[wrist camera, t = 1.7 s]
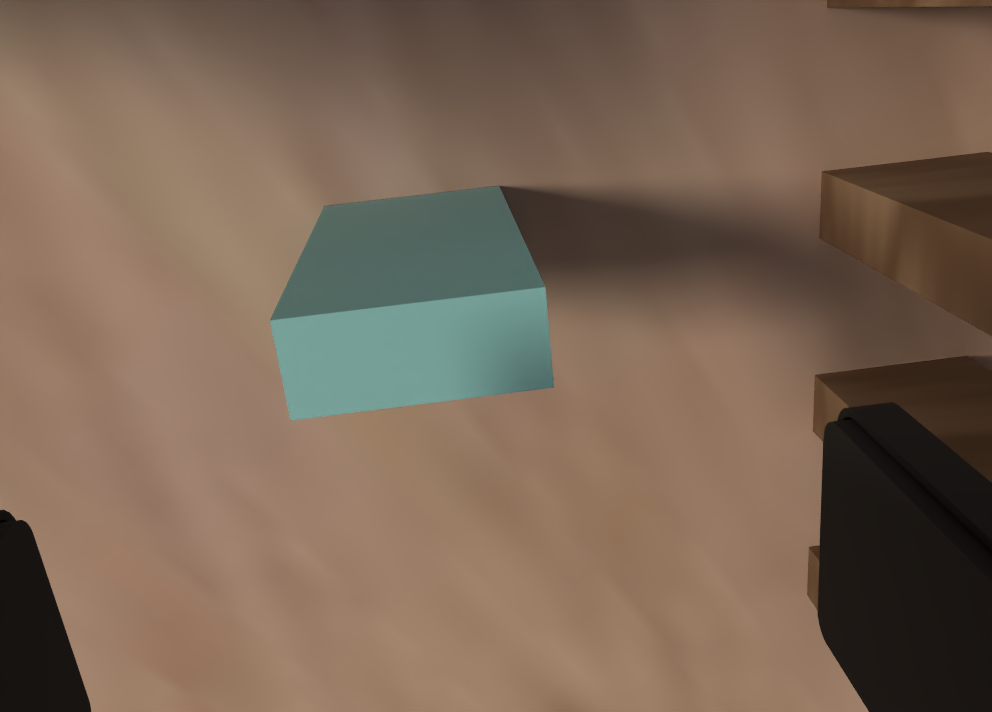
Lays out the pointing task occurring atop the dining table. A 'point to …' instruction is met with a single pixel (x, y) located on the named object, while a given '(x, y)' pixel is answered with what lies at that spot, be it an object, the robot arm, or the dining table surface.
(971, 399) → the domino
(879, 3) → the domino
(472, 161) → the dining table surface
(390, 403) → the teal domino
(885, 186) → the domino
